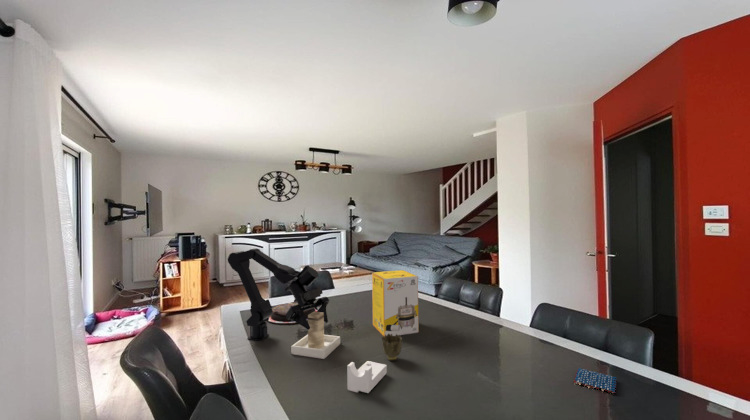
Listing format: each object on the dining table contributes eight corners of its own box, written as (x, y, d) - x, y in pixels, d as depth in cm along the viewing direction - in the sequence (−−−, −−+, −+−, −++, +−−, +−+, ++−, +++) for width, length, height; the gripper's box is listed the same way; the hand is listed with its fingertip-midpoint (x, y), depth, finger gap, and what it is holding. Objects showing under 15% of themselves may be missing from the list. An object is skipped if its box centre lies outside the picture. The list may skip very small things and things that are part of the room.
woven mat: (576, 372, 105) (576, 366, 105) (616, 382, 99) (616, 376, 99) (572, 386, 97) (572, 379, 97) (616, 398, 91) (615, 391, 91)
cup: (404, 356, 118) (404, 334, 118) (399, 365, 111) (399, 342, 111) (385, 353, 120) (385, 332, 120) (379, 362, 113) (379, 339, 113)
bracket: (368, 396, 93) (367, 370, 93) (347, 390, 96) (347, 365, 96) (386, 375, 104) (386, 352, 104) (367, 371, 108) (367, 348, 108)
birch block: (308, 348, 124) (307, 314, 124) (314, 343, 128) (313, 311, 128) (318, 349, 122) (318, 316, 122) (324, 345, 127) (323, 312, 127)
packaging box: (404, 320, 156) (403, 270, 157) (418, 332, 141) (417, 276, 141) (372, 324, 151) (372, 272, 152) (384, 337, 136) (383, 279, 136)
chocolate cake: (279, 307, 183) (279, 296, 183) (326, 309, 179) (326, 297, 179) (254, 324, 155) (254, 311, 155) (309, 326, 151) (309, 313, 151)
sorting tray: (291, 354, 121) (291, 346, 121) (310, 339, 134) (309, 332, 134) (324, 358, 116) (324, 350, 116) (340, 343, 130) (340, 336, 130)
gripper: (289, 285, 121) (309, 320, 114) (326, 277, 135) (345, 307, 128) (277, 302, 126) (295, 337, 119) (314, 293, 140) (332, 323, 133)
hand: (318, 325), depth 125 cm, fingers open, 9 cm apart
